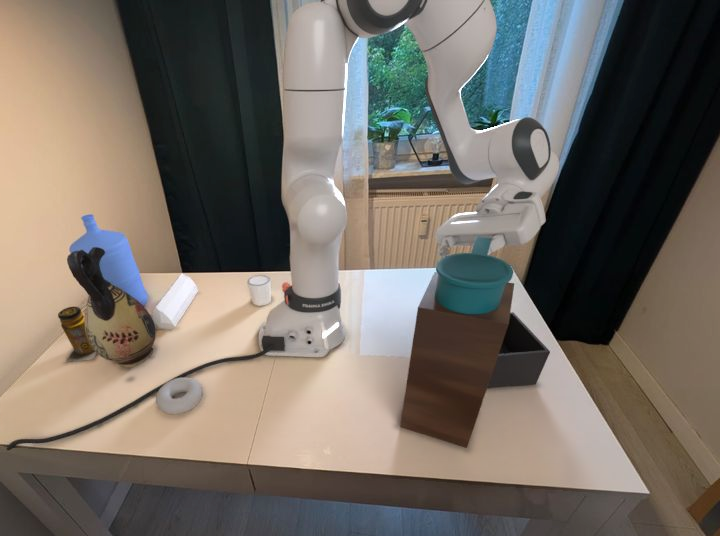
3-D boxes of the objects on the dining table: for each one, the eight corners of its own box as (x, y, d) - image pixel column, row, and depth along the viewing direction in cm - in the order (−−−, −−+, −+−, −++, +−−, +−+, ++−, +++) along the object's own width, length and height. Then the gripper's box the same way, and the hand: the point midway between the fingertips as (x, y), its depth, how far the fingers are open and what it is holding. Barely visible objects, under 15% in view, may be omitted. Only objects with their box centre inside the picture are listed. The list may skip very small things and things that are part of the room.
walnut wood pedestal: (414, 386, 80) (434, 271, 64) (475, 403, 76) (514, 283, 59) (399, 427, 72) (417, 307, 56) (466, 448, 67) (508, 323, 51)
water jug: (156, 291, 124) (126, 205, 107) (137, 318, 112) (100, 225, 95) (111, 293, 126) (75, 208, 109) (88, 319, 114) (43, 228, 97)
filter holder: (450, 252, 69) (455, 225, 66) (511, 259, 65) (519, 231, 62) (424, 308, 55) (429, 277, 52) (500, 322, 51) (510, 289, 48)
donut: (148, 408, 82) (181, 424, 78) (143, 397, 80) (176, 412, 75) (181, 380, 89) (213, 393, 84) (177, 369, 87) (209, 382, 82)
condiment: (105, 340, 104) (87, 303, 97) (93, 359, 98) (73, 321, 90) (79, 342, 104) (59, 305, 97) (66, 362, 98) (43, 324, 90)
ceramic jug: (112, 341, 103) (62, 236, 85) (168, 335, 104) (130, 228, 85) (91, 384, 90) (26, 269, 72) (155, 376, 90) (107, 260, 72)
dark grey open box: (466, 390, 78) (476, 357, 73) (442, 348, 90) (449, 317, 84) (535, 384, 78) (550, 351, 73) (502, 343, 89) (513, 312, 84)
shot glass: (274, 294, 116) (271, 274, 112) (271, 306, 111) (268, 285, 107) (252, 295, 117) (249, 274, 113) (248, 306, 112) (245, 286, 108)
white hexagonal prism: (175, 321, 101) (203, 279, 120) (149, 310, 100) (181, 269, 119) (169, 340, 106) (196, 296, 124) (144, 330, 105) (176, 287, 123)
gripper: (452, 203, 86) (414, 242, 83) (547, 191, 68) (503, 240, 65) (461, 226, 89) (425, 265, 86) (555, 221, 71) (512, 269, 68)
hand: (459, 254), depth 76 cm, fingers open, 8 cm apart
